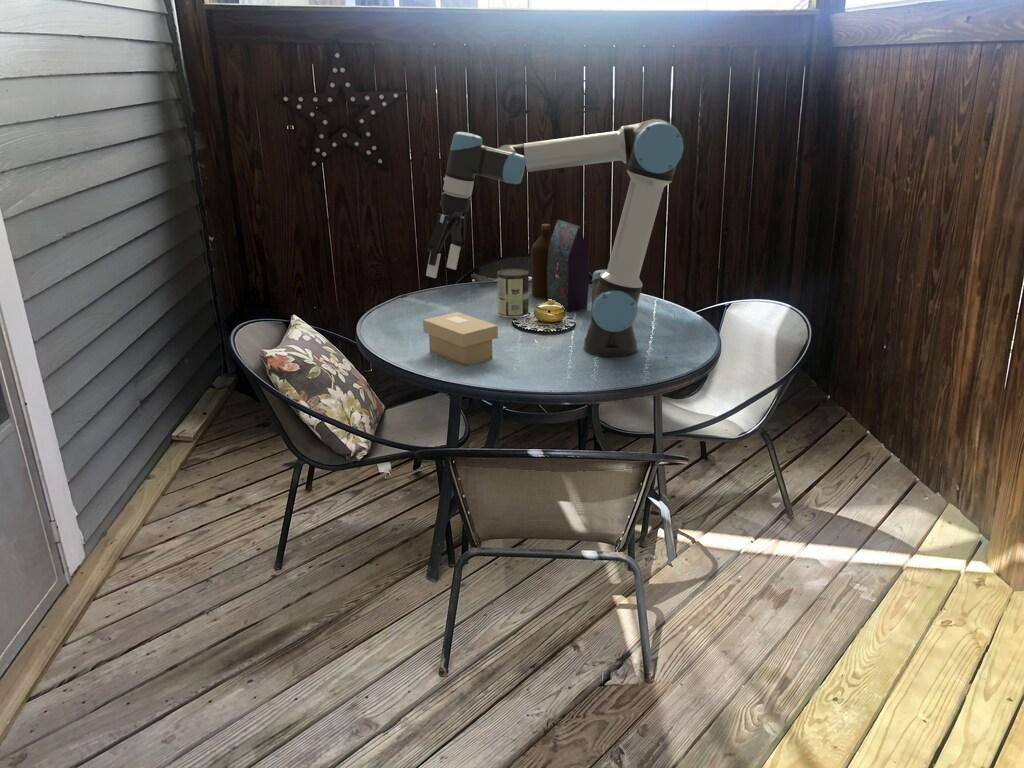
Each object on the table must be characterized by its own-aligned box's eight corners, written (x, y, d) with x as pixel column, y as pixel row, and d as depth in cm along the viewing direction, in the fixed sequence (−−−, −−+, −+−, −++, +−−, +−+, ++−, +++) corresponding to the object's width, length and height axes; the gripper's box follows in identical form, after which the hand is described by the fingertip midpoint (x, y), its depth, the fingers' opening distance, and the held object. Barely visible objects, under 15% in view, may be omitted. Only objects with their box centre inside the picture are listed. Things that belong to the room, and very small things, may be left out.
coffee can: (517, 308, 284) (517, 267, 279) (535, 315, 276) (535, 273, 271) (491, 312, 278) (491, 271, 273) (508, 320, 270) (508, 277, 265)
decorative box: (566, 298, 296) (568, 218, 286) (589, 309, 282) (591, 226, 272) (545, 300, 292) (546, 220, 282) (567, 312, 278) (569, 228, 268)
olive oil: (534, 299, 294) (535, 228, 285) (527, 292, 304) (527, 222, 295) (563, 297, 296) (565, 226, 288) (555, 290, 306) (556, 221, 297)
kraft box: (492, 358, 235) (492, 327, 232) (464, 366, 229) (463, 334, 225) (457, 345, 246) (456, 315, 243) (429, 352, 240) (428, 321, 237)
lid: (497, 338, 233) (497, 325, 231) (463, 347, 225) (462, 333, 224) (457, 323, 245) (457, 311, 244) (423, 332, 238) (422, 319, 237)
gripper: (461, 186, 230) (447, 261, 237) (423, 194, 207) (408, 276, 215) (486, 194, 228) (471, 268, 236) (451, 202, 205) (435, 284, 213)
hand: (441, 272), depth 225 cm, fingers open, 13 cm apart
